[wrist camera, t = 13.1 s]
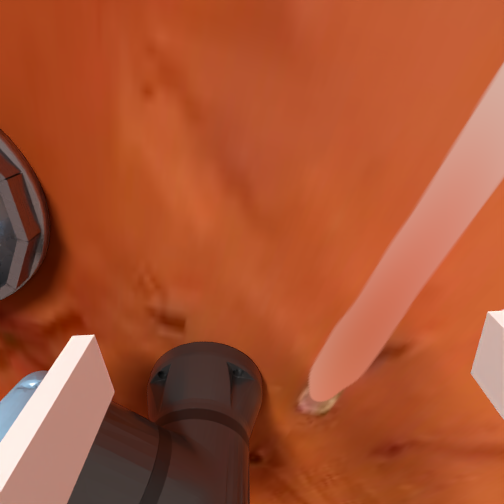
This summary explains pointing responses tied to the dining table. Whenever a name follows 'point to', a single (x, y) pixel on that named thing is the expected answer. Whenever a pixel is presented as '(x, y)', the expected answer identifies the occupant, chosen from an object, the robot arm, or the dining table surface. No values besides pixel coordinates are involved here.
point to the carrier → (20, 219)
